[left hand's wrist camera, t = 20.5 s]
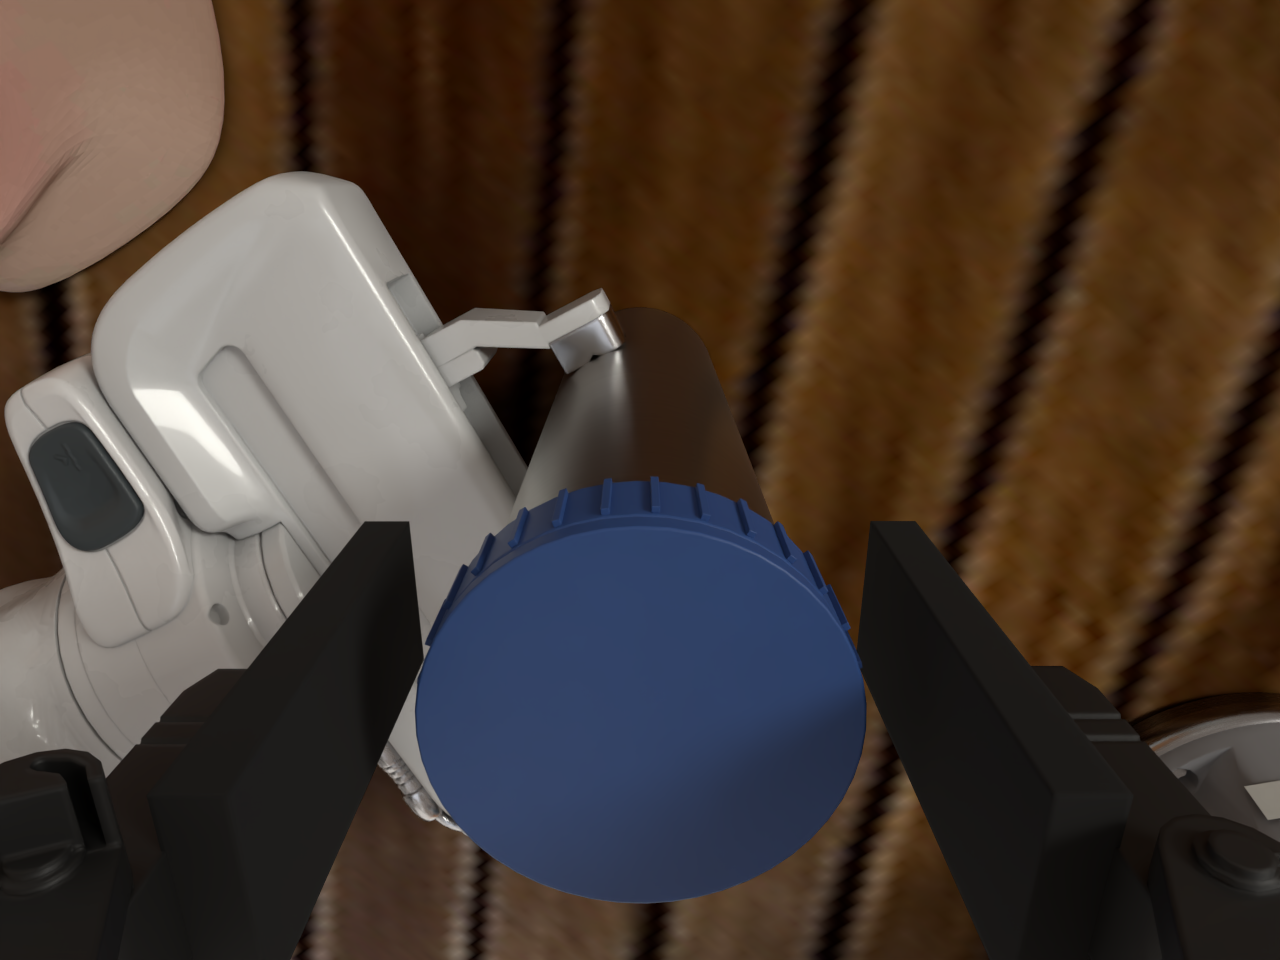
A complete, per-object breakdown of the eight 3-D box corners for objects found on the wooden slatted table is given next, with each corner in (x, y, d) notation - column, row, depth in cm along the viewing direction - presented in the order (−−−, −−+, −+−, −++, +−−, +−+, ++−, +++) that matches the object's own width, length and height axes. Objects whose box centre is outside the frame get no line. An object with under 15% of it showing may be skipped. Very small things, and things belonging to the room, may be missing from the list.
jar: (730, 426, 30) (866, 805, 12) (594, 467, 30) (530, 889, 12) (689, 287, 28) (777, 485, 10) (546, 333, 28) (388, 600, 11)
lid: (829, 444, 11) (860, 487, 9) (854, 801, 13) (882, 883, 12) (392, 505, 11) (353, 556, 10) (485, 845, 13) (465, 929, 12)
